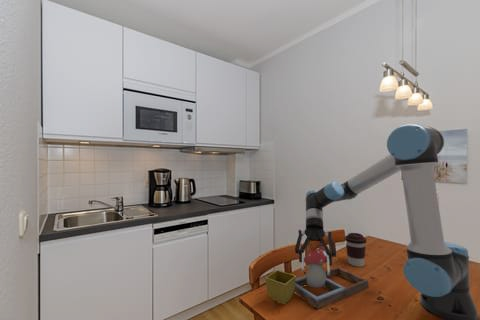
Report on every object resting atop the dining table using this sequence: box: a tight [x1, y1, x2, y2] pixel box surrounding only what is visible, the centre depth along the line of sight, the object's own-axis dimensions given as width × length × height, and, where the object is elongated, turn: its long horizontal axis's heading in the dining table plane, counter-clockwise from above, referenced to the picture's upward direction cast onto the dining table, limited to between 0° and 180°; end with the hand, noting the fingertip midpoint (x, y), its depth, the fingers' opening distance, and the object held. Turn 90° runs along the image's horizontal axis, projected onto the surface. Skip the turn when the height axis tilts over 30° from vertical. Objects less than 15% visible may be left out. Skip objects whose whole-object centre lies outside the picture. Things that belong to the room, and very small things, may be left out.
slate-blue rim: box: [295, 275, 346, 301], centre depth 95 cm, size 15×15×1 cm
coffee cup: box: [344, 232, 367, 268], centre depth 122 cm, size 10×10×15 cm
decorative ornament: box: [304, 245, 327, 288], centre depth 95 cm, size 9×6×15 cm
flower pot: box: [265, 269, 297, 306], centre depth 91 cm, size 9×9×9 cm
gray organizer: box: [294, 266, 369, 309], centre depth 98 cm, size 15×29×3 cm, turn 118°
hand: (315, 271), depth 92 cm, fingers closed on decorative ornament, 9 cm apart
